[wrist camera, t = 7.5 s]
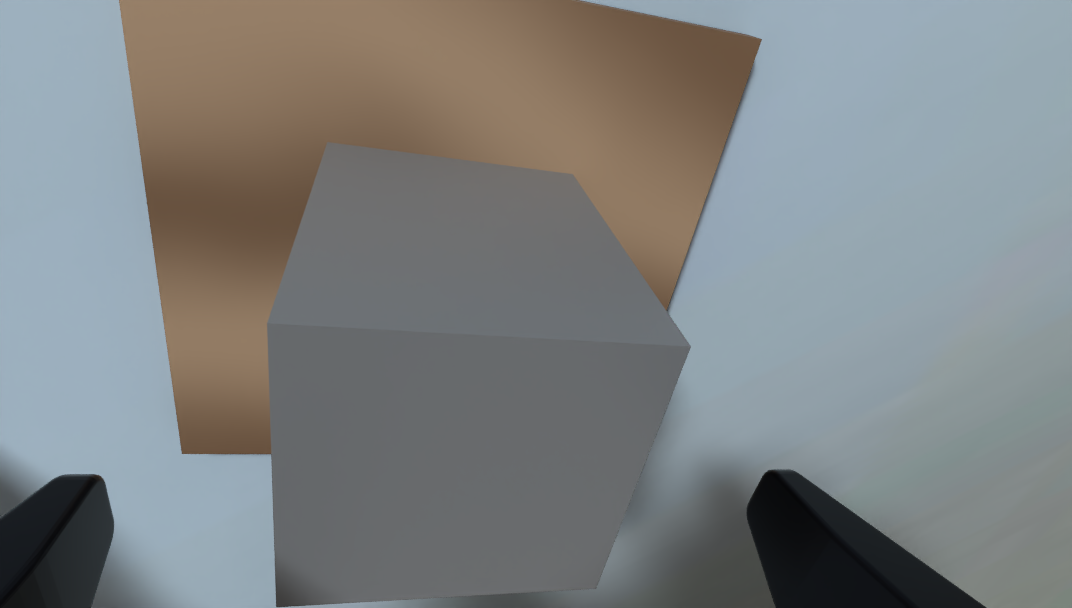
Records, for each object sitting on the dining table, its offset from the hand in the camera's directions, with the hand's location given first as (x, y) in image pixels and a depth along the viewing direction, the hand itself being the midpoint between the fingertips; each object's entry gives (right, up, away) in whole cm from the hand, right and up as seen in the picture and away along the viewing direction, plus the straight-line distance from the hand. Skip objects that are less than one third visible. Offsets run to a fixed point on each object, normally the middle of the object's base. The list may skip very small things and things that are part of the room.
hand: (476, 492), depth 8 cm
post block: (-1, +4, +6) cm, 7 cm away
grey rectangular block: (-1, +3, +6) cm, 7 cm away
